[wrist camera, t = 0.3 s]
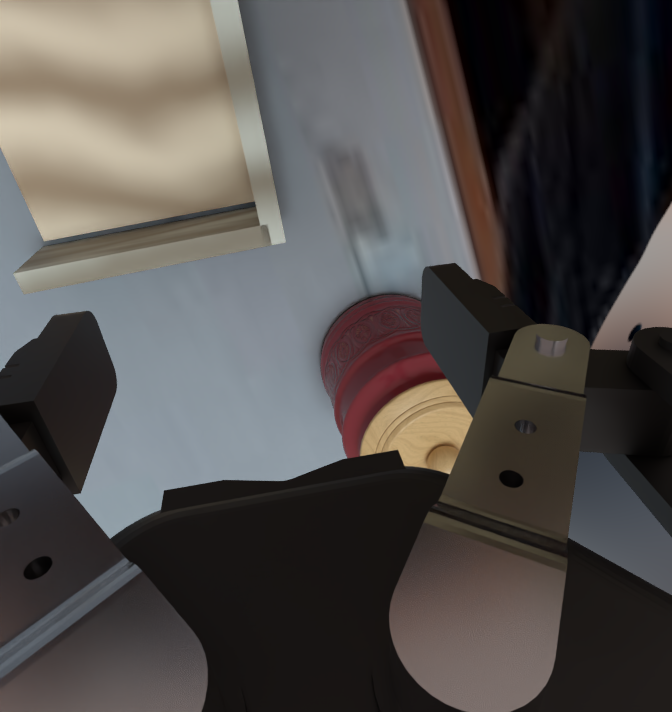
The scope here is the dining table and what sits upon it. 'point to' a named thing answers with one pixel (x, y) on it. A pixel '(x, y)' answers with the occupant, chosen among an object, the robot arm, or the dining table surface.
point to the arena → (132, 134)
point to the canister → (391, 386)
